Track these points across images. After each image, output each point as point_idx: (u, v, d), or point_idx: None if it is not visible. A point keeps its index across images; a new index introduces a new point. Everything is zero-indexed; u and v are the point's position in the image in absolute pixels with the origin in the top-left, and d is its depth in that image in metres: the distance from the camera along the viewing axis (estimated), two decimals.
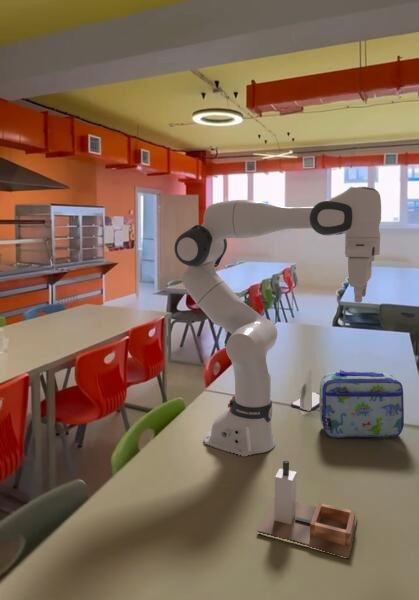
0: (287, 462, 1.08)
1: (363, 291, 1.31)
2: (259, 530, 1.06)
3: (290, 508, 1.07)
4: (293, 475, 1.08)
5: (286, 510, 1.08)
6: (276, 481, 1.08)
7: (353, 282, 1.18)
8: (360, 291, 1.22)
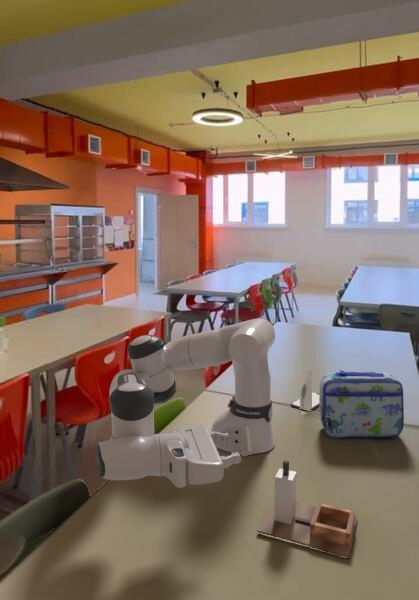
0: (287, 462, 1.08)
1: (224, 437, 1.08)
2: (259, 530, 1.06)
3: (290, 508, 1.07)
4: (293, 475, 1.08)
5: (286, 510, 1.08)
6: (276, 481, 1.08)
7: (218, 477, 0.94)
8: (227, 460, 0.98)
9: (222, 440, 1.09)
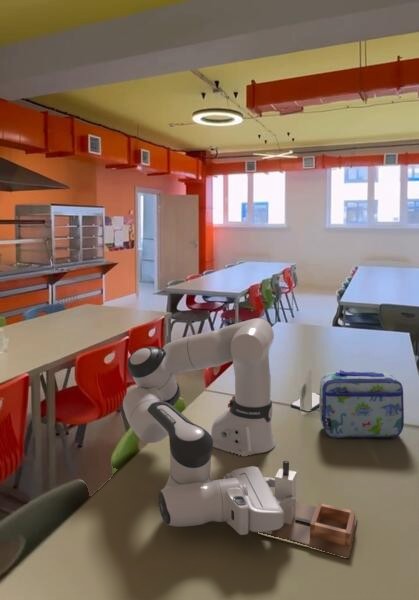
0: (287, 462, 1.08)
1: None
2: None
3: (290, 508, 1.07)
4: (293, 475, 1.08)
5: (286, 510, 1.08)
6: (276, 481, 1.08)
7: (279, 525, 0.99)
8: (284, 503, 1.04)
9: None
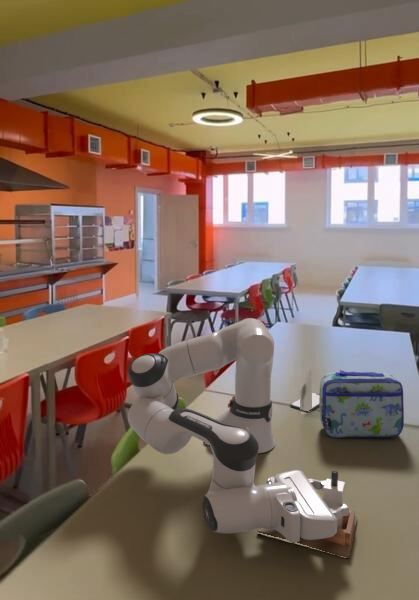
0: (336, 472, 1.03)
1: (323, 486, 1.08)
2: (259, 530, 1.06)
3: (339, 520, 1.03)
4: (342, 486, 1.04)
5: None
6: (325, 492, 1.03)
7: (333, 532, 0.94)
8: (337, 513, 0.98)
9: (321, 488, 1.09)
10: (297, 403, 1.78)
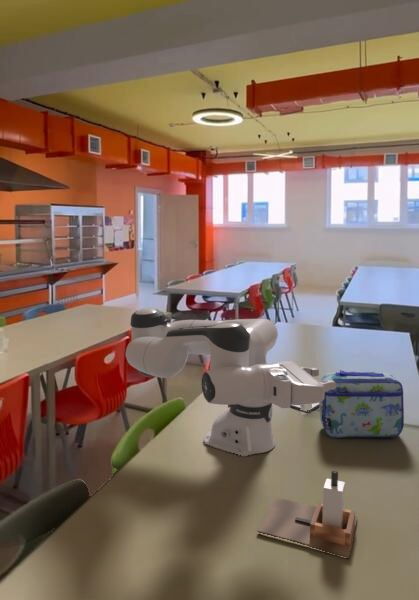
0: (336, 472, 1.03)
1: (313, 371, 1.17)
2: (259, 530, 1.06)
3: (339, 520, 1.03)
4: (342, 486, 1.04)
5: (335, 522, 1.03)
6: (325, 492, 1.03)
7: (320, 398, 1.03)
8: (325, 385, 1.07)
9: (311, 374, 1.18)
10: None
